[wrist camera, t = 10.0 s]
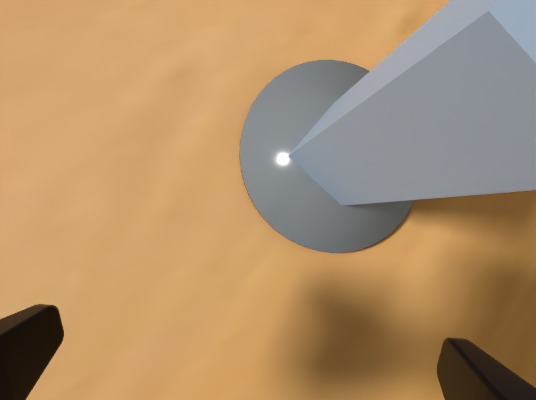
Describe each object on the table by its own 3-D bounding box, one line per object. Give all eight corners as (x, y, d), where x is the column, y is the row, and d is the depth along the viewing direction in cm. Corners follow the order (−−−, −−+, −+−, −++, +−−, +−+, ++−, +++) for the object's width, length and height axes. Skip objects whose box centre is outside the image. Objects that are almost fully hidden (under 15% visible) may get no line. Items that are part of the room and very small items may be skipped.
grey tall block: (341, 205, 19) (640, 181, 6) (287, 156, 18) (488, 10, 5) (383, 152, 19) (726, 29, 7) (333, 103, 19) (602, -134, 6)
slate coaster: (358, 288, 19) (362, 290, 19) (198, 177, 17) (198, 176, 17) (445, 139, 21) (452, 137, 20) (309, 26, 19) (312, 21, 19)
